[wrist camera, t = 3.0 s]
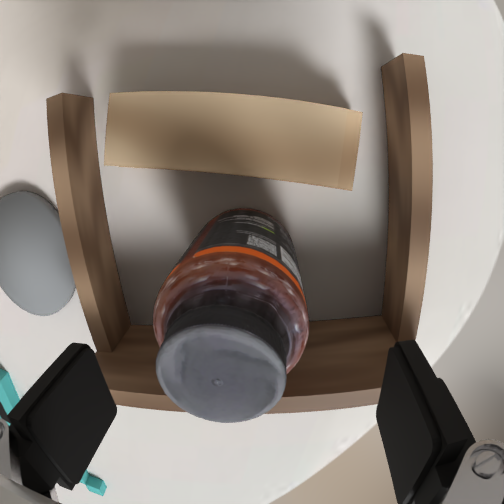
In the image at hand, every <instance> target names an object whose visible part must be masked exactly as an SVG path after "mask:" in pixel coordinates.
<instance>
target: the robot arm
mask: <svg viewBox="0 0 504 504" xmlns="http://www.w3.org/2000/svg"><path fill="white" fill-rule="evenodd" d="M116 414H117V407H116V404H115V402H114V400H113V397H112V395H111V393H110V390H109V388H108V386H107V383H106V381H105V378H104V376H103V373H102V371H101V368H100V366H99V363H98V361H97V358H96V355H95V353H94V351H93V350H92V349H91V348H90V346H89V345H87V344H81V343H71V344H70V345H69V346H68V347H67V348H66V349H65V350H64V352H63V353H62V354H61V355H60V356H59V357H58V358H57V359H56V360H55V361H54V362H53V363H52V365H51V366H50V367H49V368H48V369H47V370H46V371H45V372H44V373H43V375H42V376H41V377H40V378H39V379H38V380H37V381H36V382H35V383H34V385H33V386H32V387H31V388H30V389H29V390H28V391H27V393H26V394H25V395H24V396H23V397H22V398H21V400H20V401H19V402H18V403H17V404H16V405H15V407H14V408H13V409H12V410H11V411H10V413H9V414H8V415H7V417H8V418H9V420H10V421H11V424H10V425H8V424H7V422H6V421H5V420H4V419H2V418H0V504H61V503H59V501H58V497H57V493H56V489H55V484H56V483H58V484H59V485H60V486H62V487H64V488H67V489H69V490H73V488H74V486H75V484H78V483H79V482H80V481H81V479H82V477H83V475H84V473H85V471H86V469H87V467H88V465H89V464H90V462H91V460H92V458H93V456H94V454H95V453H96V451H97V449H98V447H99V445H100V443H101V442H102V440H103V438H104V436H105V434H106V432H107V431H108V429H109V427H110V425H111V423H112V422H113V420H114V418H115V416H116ZM376 418H377V423H378V426H379V430H380V434H381V437H382V441H383V445H384V449H385V453H386V457H387V461H388V465H389V469H390V473H391V477H392V481H393V486H394V490H395V494H396V499H397V503H398V504H504V444H503V443H502V442H499V441H497V440H491V439H486V440H480V441H478V442H476V441H475V439H474V437H473V435H472V433H471V431H470V429H469V427H468V425H467V423H466V421H465V419H464V417H463V416H462V414H461V412H460V410H459V408H458V406H457V404H456V402H455V401H454V399H453V397H452V395H451V393H450V392H449V390H448V388H447V386H446V384H445V383H444V381H443V380H442V379H440V378H437V377H436V375H435V374H434V372H433V370H432V368H431V366H430V365H429V363H428V361H427V360H426V358H425V356H424V354H423V353H422V351H421V349H420V348H419V346H418V344H417V343H416V341H415V340H406V341H398V342H396V343H395V345H394V347H390V348H389V351H388V356H387V362H386V367H385V372H384V378H383V383H382V387H381V392H380V397H379V401H378V406H377V410H376Z"/></svg>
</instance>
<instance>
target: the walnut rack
mask: <svg viewBox="0 0 504 504" xmlns="http://www.w3.org/2000/svg"><path fill="white" fill-rule="evenodd" d="M381 72H382V80H383V89H384V100H385V111H386V125H387V143H388V173H389V210H388V241H387V259H386V273H385V285H384V296H383V306H382V315H379V316H369V317H358V318H347V319H335V320H322V321H309V334H308V340H307V343H306V346H305V349H304V351H303V353H302V355H301V357H300V359H299V361H298V362H297V363H296V365H295V366H294V367H293V368H292V369H291V370H290V371H289V373H287V378H286V386H285V390H284V393H283V395H282V397H281V399H280V400H279V401H278V403H277V404H276V405H275V406H274V407H273V408H272V409H271V410H269V411H268V412H266V413H264V414H274V413H296V412H311V411H323V410H334V409H343V408H352V407H360V406H367V405H374V404H378V401H379V397H380V392H381V387H382V383H383V378H384V372H385V367H386V362H387V356H388V351H389V348H390V347H394V345H395V343H396V342H398V341H406V340H415V339H416V335H417V329H418V324H419V319H420V313H421V307H422V301H423V294H424V287H425V280H426V272H427V264H428V254H429V243H430V231H431V214H432V184H433V161H432V131H431V115H430V103H429V93H428V84H427V76H426V68H425V61H424V56H420V55H413V54H406V53H402V54H401V55H399V56H397V57H396V58H394V59H393V60H391V61H390V62H388V63H387V64H385V65H384V66H382V67H381ZM46 101H47V122H48V136H49V147H50V157H51V166H52V174H53V181H54V188H55V194H56V200H57V206H58V212H59V217H60V222H61V227H62V232H63V237H64V241H65V246H66V250H67V254H68V258H69V262H70V266H71V270H72V274H73V278H74V281H75V285H76V289H77V292H78V295H79V299H80V302H81V305H82V309H83V312H84V315H85V318H86V321H87V324H88V327H89V330H90V333H91V336H92V339H93V341H94V344H95V347H96V350H97V352H96V353H95V355H96V358H97V361H98V363H99V366H100V368H101V371H102V373H103V376H104V378H105V381H106V383H107V386H108V388H109V390H110V393H111V395H112V397H113V400H114V402H115V404H116V405H122V406H129V407H137V408H146V409H155V410H166V411H178V412H186V411H185V410H183V409H181V408H180V407H178V406H177V405H176V404H175V403H174V402H173V401H172V400H171V399H170V398H169V397H168V396H167V395H166V394H165V392H164V390H163V389H162V387H161V385H160V383H159V381H158V378H157V374H156V357H157V354H158V351H159V349H160V347H159V344H158V342H157V339H156V337H155V332H154V328H153V325H131V322H130V318H129V315H128V311H127V307H126V304H125V300H124V296H123V292H122V288H121V284H120V280H119V275H118V271H117V267H116V262H115V257H114V253H113V248H112V243H111V238H110V233H109V227H108V222H107V216H106V210H105V204H104V198H103V191H102V185H101V177H100V170H99V161H98V153H97V143H96V132H95V120H94V105H93V98H91V97H85V96H79V95H73V94H67V93H60V94H58V95H55V96H52V97H50V98H47V99H46Z"/></svg>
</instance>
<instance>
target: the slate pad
mask: <svg viewBox="0 0 504 504" xmlns="http://www.w3.org/2000/svg"><path fill="white" fill-rule="evenodd" d="M0 286H1V288H2V289H3V291H4V292H5V293H6V295H7V296H8V297H9V298H10V299H11V300H12V301H13V302H14V303H15V304H16V305H18V306H19V307H20V308H22V309H23V310H25V311H27V312H29V313H31V314H34V315H39V316H48V315H52V314H54V313H56V312H58V311H59V310H61V309H62V308H63V307H64V306H65V305H66V304H67V303H68V302H69V301H70V299H71V297H72V296H73V294H74V291H75V288H76V285H75V281H74V278H73V274H72V270H71V266H70V262H69V258H68V254H67V250H66V246H65V241H64V237H63V232H62V227H61V222H60V217H59V213H58V212H57V210H56V209H55V208H54V207H53V206H52V205H51V204H50V203H49V202H48V201H47V200H45V199H44V198H42V197H41V196H39V195H37V194H35V193H32V192H28V191H19V192H15V193H11V194H8V195H6V196H4V197H3V198H1V199H0Z"/></svg>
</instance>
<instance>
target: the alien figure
mask: <svg viewBox="0 0 504 504" xmlns="http://www.w3.org/2000/svg"><path fill="white" fill-rule="evenodd" d="M19 401H20V399H19V397H18V394H17V392H16V390H15V388H14V385H13V383H12V380H11V378H10V375H9V373H8V372H7V371H5V370H2V369H0V418H2V419H4V420H5V421H6V422H7V424H8V425H10V424H11V421H10V420H9V418H8V417H7V415H8V414H9V413H10V411H11V410H12V409H13V408H14V407H15V405H16V404H17V403H18V402H19ZM80 482H81V483H83V484H85V485H86V486H87V488H88V490H89V491H91V492H93V493H96V494H99V495H102V496H103V495H104V493H105V490H106V488H107V487H106V485H105V483H104V481H103V480H101V479H98V478H95V477H93V476H90V475H89V474H88V472H87V470H86V471H85V473H84V475H83V477H82V479H81V481H80Z"/></svg>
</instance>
